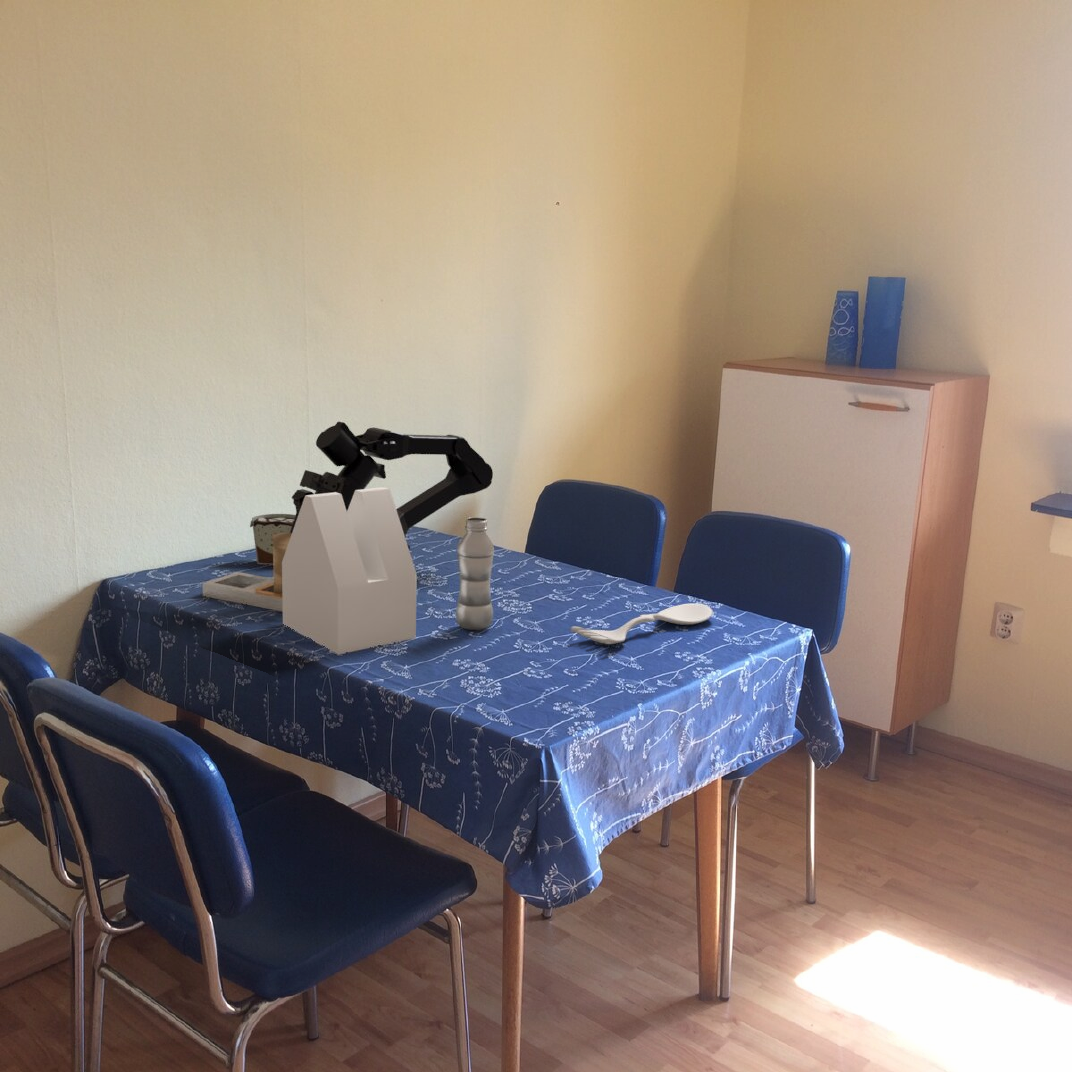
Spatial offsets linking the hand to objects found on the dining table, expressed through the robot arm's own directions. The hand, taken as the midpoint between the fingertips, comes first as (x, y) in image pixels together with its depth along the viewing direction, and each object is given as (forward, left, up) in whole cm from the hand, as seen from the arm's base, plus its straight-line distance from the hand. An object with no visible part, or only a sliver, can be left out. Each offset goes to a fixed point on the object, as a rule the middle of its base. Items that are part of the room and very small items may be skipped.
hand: (302, 544), depth 210 cm
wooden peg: (+1, +3, -11) cm, 11 cm away
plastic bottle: (-36, -2, -11) cm, 38 cm away
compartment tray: (+7, +3, -11) cm, 13 cm away
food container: (+21, -21, -11) cm, 31 cm away
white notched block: (-18, +11, -11) cm, 24 cm away
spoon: (-64, -17, -11) cm, 67 cm away
